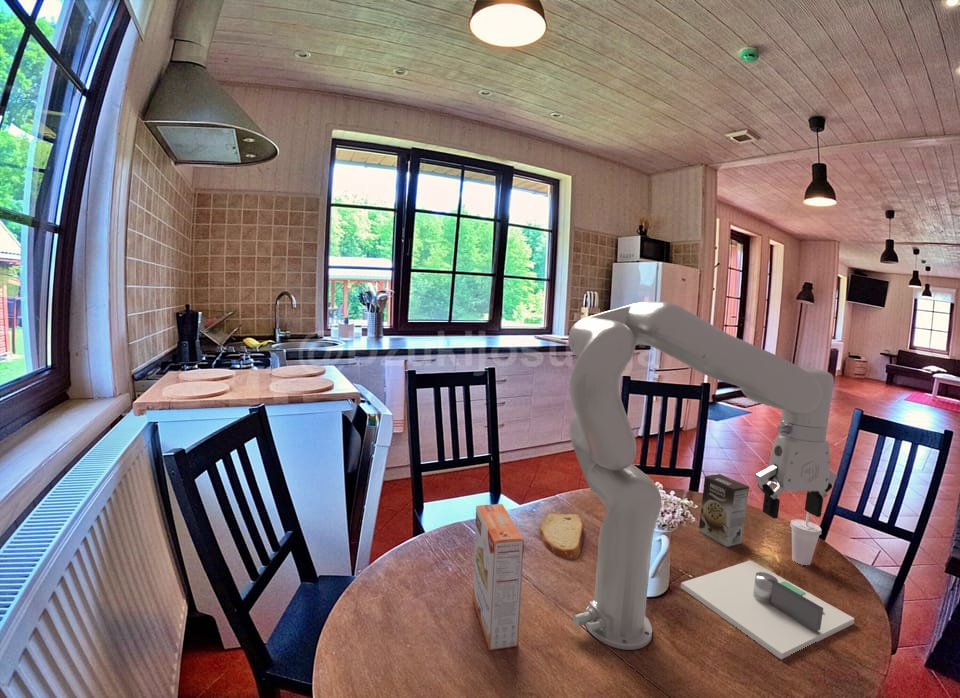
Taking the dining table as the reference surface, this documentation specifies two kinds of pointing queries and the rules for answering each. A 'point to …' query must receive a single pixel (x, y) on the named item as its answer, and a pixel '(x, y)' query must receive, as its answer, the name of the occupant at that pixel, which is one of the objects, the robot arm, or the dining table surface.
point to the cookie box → (723, 509)
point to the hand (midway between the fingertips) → (791, 514)
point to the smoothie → (804, 540)
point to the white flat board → (762, 609)
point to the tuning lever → (787, 601)
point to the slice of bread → (562, 534)
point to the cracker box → (497, 576)
